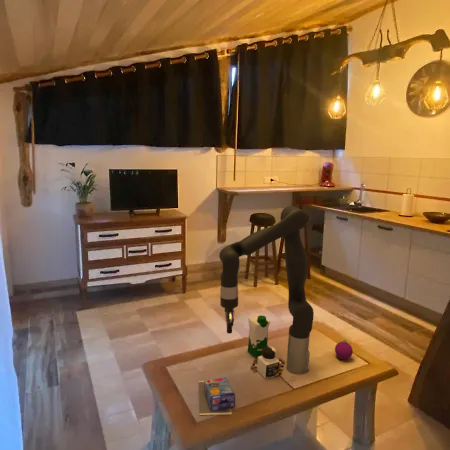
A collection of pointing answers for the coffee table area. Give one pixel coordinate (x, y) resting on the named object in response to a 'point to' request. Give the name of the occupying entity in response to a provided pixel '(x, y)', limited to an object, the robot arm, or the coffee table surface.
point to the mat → (205, 406)
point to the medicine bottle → (268, 363)
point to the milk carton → (257, 335)
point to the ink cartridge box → (219, 393)
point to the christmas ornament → (343, 350)
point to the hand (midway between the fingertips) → (229, 332)
